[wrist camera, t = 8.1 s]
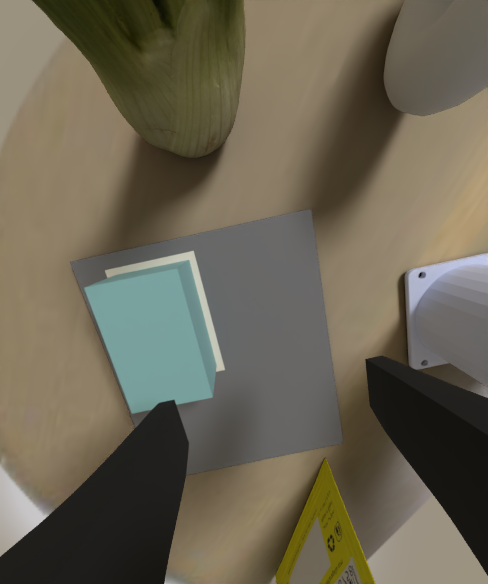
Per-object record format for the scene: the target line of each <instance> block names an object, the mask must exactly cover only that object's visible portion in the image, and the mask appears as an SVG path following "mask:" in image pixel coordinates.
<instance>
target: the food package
mask: <svg viewBox="0 0 488 584" xmlns="http://www.w3.org/2000/svg"><path fill="white" fill-rule="evenodd" d="M276 583H277V584H375V581H374V579H373V576H372V574H371V571H370V569H369V566H368V564H367V561H366V558H365V556H364V553H363V551H362V548H361V546H360V543H359V541H358V538H357V536H356V533H355V531H354V528H353V526H352V523H351V521H350V518H349V516H348V513H347V511H346V508H345V506H344V503H343V501H342V498H341V496H340V493H339V491H338V488H337V485H336V483H335V480H334V478H333V475H332V472H331V469H330V467H329V464H328V462H327V459H326V457H325V459H324V461H323V464H322V466H321V468H320V471H319V474H318V476H317V479H316V481H315V484H314V486H313V488H312V491H311V493H310V495H309V498H308V500H307V502H306V505H305V507H304V509H303V512H302V514H301V517H300V519H299V521H298V524H297V526H296V528H295V531H294V533H293V536H292V538H291V540H290V543H289V545H288V548H287V550H286V552H285V555H284V557H283V559H282V562H281V564H280V566H279V568H278V571H277V573H276Z"/></svg>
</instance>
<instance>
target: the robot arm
mask: <svg viewBox="0 0 488 584" xmlns="http://www.w3.org/2000/svg"><path fill="white" fill-rule="evenodd" d="M420 272H421V273H422V275H421V277H418V275H419V273H420ZM405 295H406V316H407V337H408V358H409V366H410V367H409V366H406V365H404V364H401V363H399V362H397V361H394V360H392V359H389V358H387V357H384V356H379V357H374V358H369V359H366V370H367V380H368V390H369V401H370V407H371V408H372V410H373V412H374V414H375V415H376V417H377V419H378V420H379V422H380V424H381V425H382V427H383V429H384V430H385V432H386V433H387V435H388V436H389V437H390V439H391V440H392V441H393V443H394V444H395V445H396V447H397V448H398V449H399V451H400V452H401V453H402V455H403V456H404V457H405V459H406V460H407V461H408V462H409V464H410V465H411V466H412V468H413V469H414V470H415V472H416V473H417V474H418V476H419V477H420V478H421V479H422V481H423V482H424V483H425V485H426V486H427V487H428V489H429V490H430V491H431V493H432V494H433V495H434V496H435V498H436V499H437V500H438V502H439V503H440V504H441V506H442V507H443V509H444V510H445V511H446V513H447V514H448V516H449V517H450V518H451V520H452V521H453V523H454V524H455V526H456V527H457V529H458V530H459V532H460V533H461V535H462V537H463V538H464V540H465V541H466V543H467V544H468V546H469V547H470V549H471V550H472V552H473V553H474V555H475V556H476V558H477V559H478V561H479V563H480V564H481V566H482V567H483V569H484V570H485V572H486V574H487V575H488V398H486V397H483V396H481V395H478V394H475V393H473V392H470V391H467V390H465V389H462V388H459V387H457V386H454V385H452V384H449V383H447V382H444V381H442V380H439V379H437V378H435V377H432V376H430V375H427V374H425V373H423V372H420V371H418V370H419V369H424V368H428V367H433V366H438V365H443V364H448V363H450V364H452V365H453V366H455V367H457V368H458V369H460V370H461V371H463V372H465V373H466V374H468V375H469V376H471V377H472V378H474V379H476V380H477V381H479V382H480V383H482V384H483V385H485V386H487V387H488V253H484V254H479V255H475V256H470V257H465V258H461V259H456V260H452V261H447V262H442V263H438V264H433V265H428V266H424V267H419V268H414V269H411V270H408V271H407V272H406V274H405ZM423 360H424V362H423V363H422V361H423ZM411 367H412V368H411ZM188 451H189V441H188V438H187V435H186V432H185V429H184V426H183V423H182V420H181V417H180V414H179V411H178V408H177V405H176V402H175V400H170V401H165V402H160V403H158V404H157V405H156V406H155V407H154V408H153V409H152V410H151V411H150V412H149V413H148V415H147V416H146V417H145V418H144V419H143V420H142V421H141V422H140V424H139V425H138V426H137V427H136V428H135V429H134V430H133V431H132V432H131V434H130V435H129V436H128V437H127V438H126V439H125V440H124V441H123V442H122V444H121V445H120V446H119V447H118V448H117V449H116V450H115V451H114V452H113V453H112V454H111V455H110V456H109V457H108V458H107V459H106V461H105V462H104V463H103V464H102V465H101V466H100V467H99V468H98V469H97V470H96V471H95V472H94V473H93V474H92V475H91V476H90V477H89V478H88V479H87V480H86V481H85V482H84V483H83V484H82V485H81V486H80V487H79V488H78V489H77V490H76V491H75V492H74V493H73V494H72V495H71V496H70V497H69V498H67V499H66V500H65V501H64V502H63V503H62V504H61V505H60V506H59V507H58V508H57V509H55V510H54V511H53V512H52V513H51V514H50V515H49V516H48V517H47V518H46V519H45V520H43V521H42V522H41V523H40V524H39V525H38V526H36V527H35V528H34V529H33V530H32V531H30V532H29V533H28V534H27V535H26V536H24V537H23V538H22V539H21V540H20V541H18V543H16V544H15V545H14V546H13V547H11V548H10V549H9V550H8V551H7V552H5V553H4V554H3V555H2V556H1V557H0V584H164V581H165V575H166V569H167V564H168V558H169V553H170V548H171V544H172V539H173V534H174V530H175V525H176V520H177V516H178V511H179V506H180V502H181V497H182V492H183V487H184V483H185V478H186V471H187V462H188Z"/></svg>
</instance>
